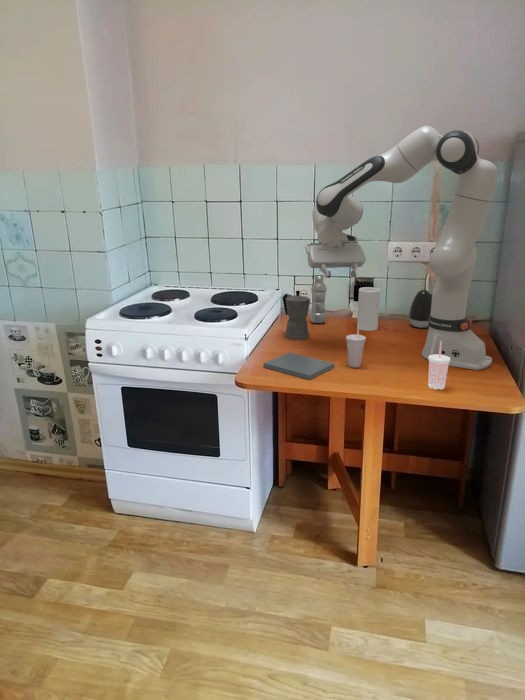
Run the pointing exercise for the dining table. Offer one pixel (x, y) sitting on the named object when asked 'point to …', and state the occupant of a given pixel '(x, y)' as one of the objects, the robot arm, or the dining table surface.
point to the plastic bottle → (318, 300)
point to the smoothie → (355, 348)
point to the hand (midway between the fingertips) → (341, 276)
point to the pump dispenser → (421, 309)
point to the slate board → (299, 365)
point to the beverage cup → (438, 370)
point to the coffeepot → (296, 316)
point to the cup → (368, 308)
